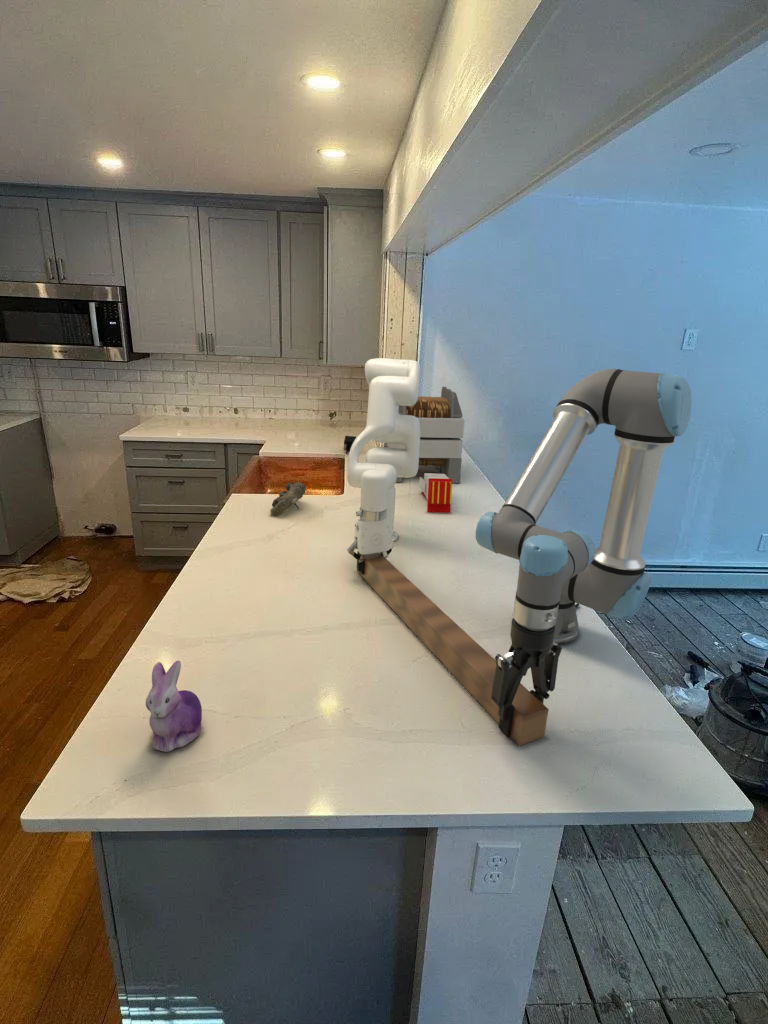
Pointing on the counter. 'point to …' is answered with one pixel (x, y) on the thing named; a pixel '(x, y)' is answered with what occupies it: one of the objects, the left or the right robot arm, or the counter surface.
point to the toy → (437, 492)
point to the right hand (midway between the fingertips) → (518, 726)
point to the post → (453, 647)
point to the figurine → (172, 710)
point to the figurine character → (348, 443)
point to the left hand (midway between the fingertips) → (371, 570)
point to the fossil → (288, 498)
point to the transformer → (438, 432)
